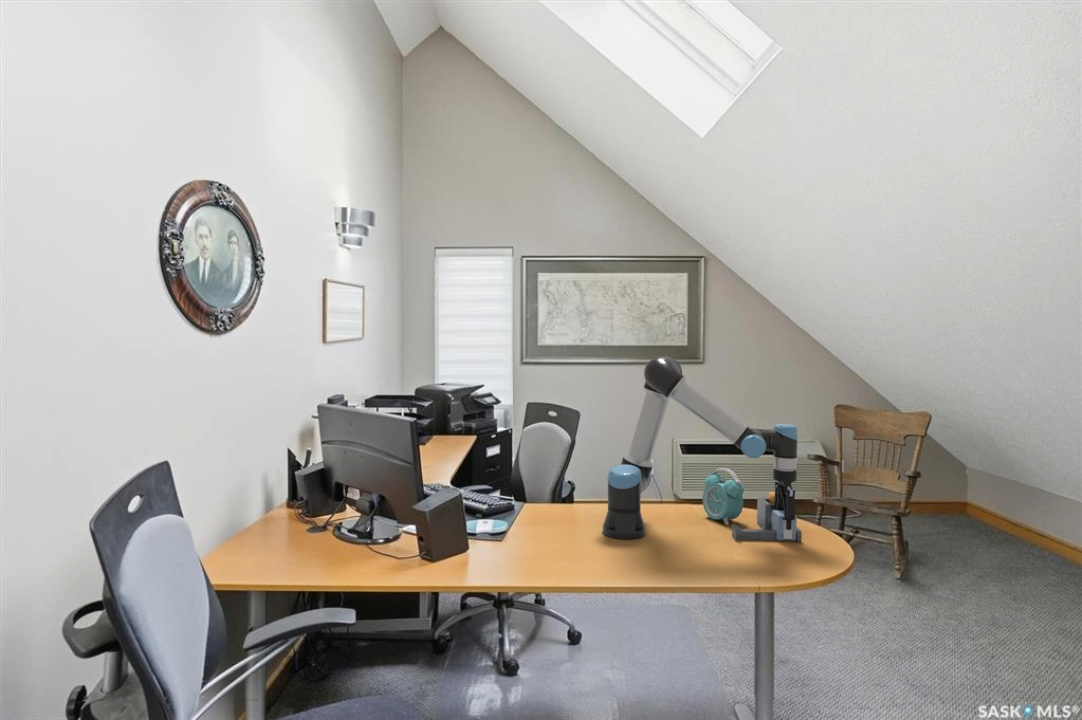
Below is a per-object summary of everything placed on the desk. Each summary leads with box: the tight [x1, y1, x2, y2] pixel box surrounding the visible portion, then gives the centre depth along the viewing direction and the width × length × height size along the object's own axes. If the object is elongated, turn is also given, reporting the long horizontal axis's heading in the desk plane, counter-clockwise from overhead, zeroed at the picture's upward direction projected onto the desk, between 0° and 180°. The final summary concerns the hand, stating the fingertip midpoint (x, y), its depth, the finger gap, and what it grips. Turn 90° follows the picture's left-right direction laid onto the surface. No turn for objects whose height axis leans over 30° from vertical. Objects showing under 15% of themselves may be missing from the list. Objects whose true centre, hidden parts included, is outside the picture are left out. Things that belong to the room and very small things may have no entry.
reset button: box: [768, 491, 775, 504], centre depth 220 cm, size 4×4×4 cm
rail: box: [731, 524, 802, 544], centre depth 207 cm, size 22×5×4 cm, turn 86°
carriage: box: [772, 510, 798, 540], centre depth 207 cm, size 6×7×8 cm
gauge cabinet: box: [756, 497, 776, 530], centre depth 220 cm, size 10×11×10 cm
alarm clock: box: [702, 467, 745, 526], centre depth 230 cm, size 17×10×20 cm, turn 25°
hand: (783, 534), depth 207 cm, fingers closed on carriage, 7 cm apart
